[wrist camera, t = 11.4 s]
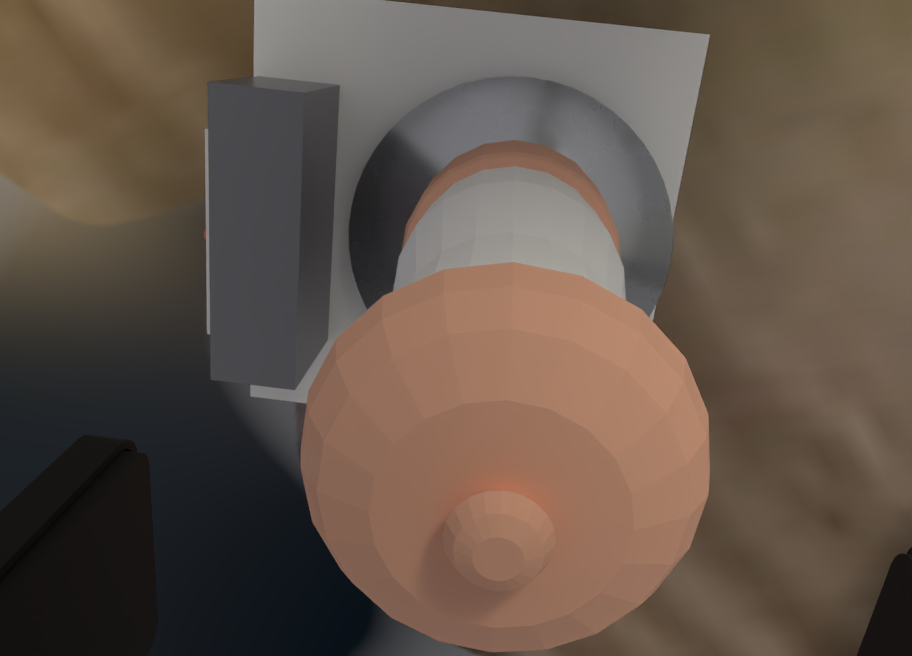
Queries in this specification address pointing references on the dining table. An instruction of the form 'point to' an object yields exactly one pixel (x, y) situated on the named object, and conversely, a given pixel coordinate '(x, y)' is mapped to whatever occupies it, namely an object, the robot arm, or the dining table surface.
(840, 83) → the dining table surface
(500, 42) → the base
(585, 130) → the scale pan
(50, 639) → the robot arm
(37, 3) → the dining table surface
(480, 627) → the salt shaker
